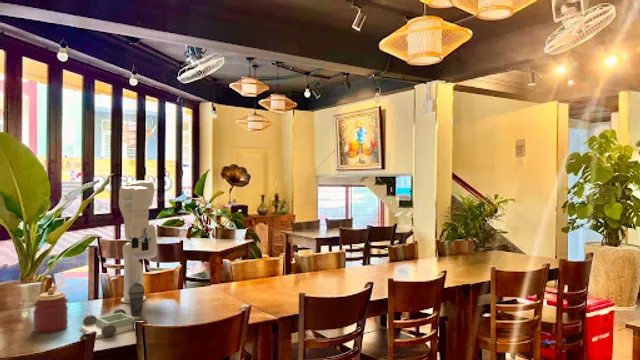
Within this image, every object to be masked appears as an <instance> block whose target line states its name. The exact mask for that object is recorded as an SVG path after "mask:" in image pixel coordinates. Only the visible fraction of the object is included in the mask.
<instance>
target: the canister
mask: <svg viewBox="0 0 640 360" xmlns="http://www.w3.org/2000/svg"><path fill="white" fill-rule="evenodd" d="M66 296H67V295H66V293H63V292H62V291H55V289H54V288H52V287H51V288H49V289H48V290H47V292H43V293H40V294H39V295H37V296H36V297H35V302H33V303H32V305H33V306H34V310H33V311H32V313H33V325H32V329H33V333H36V334H50V333H51V334H52V333H57V332H61V331H63V330H66V328H67V327H68V309H69V307H68V304H67V303H68V301H69V299H68V298H66Z"/></svg>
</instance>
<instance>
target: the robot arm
mask: <svg viewBox="0 0 640 360" xmlns="http://www.w3.org/2000/svg"><path fill="white" fill-rule="evenodd" d="M118 195H119V197H118V205H119V206H118V207H119V211H120V213H121V215H122V216H123V221H124V223H123V225H124V226H123V228H124V237H125V240H126V241H127V242H126V243H124V244H123V246H122V257H123V292H122V295H123V297H121V298H120V303H124V304H130V297H129V293H128V292H129V288H130V286H131V285H132V284H134V283H138V275H139V274H140V276H139V283H140V284H142V285H143V286H144V266H143V264H142V263H141V262H140V260H143V259H144V260H145V259H147V260H148V259H154V258H155V257H156V256H157V255H158V243H157V242H158V241H157V240H158V239H157V230H156V226H155V225H154V224H152V223H150V222H149V217H150V212H149V211H150V209H149V208H150V207H152V205H153V203H154V202H153V201H154V196H155V185H154V183H153V181H150V180H132V181H129V182H128V183H126V184H124V185H121V186H120V188H119V194H118ZM146 300H147V296H145V295H144V296H143V302H144V301H146Z"/></svg>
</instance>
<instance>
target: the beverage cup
mask: <svg viewBox="0 0 640 360" xmlns="http://www.w3.org/2000/svg"><path fill="white" fill-rule="evenodd" d="M139 276H140V274H139V275H138V283H134V284H132V285H131V286H130V288H129V292H128V293H129V297H130V303H129V305H130V306H129V309H130V315H131V316H133V317H141V316H142V313H143V305H144V304H143V303H144V301H143V296H145V288H144V287H145V286H144V284H143V285H142V284H140V283H139Z"/></svg>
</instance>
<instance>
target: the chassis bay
mask: <svg viewBox="0 0 640 360" xmlns="http://www.w3.org/2000/svg"><path fill="white" fill-rule="evenodd" d="M135 321H146V319H145V318H143V317H141V316H139V317H133V316H131V314H130V315H128V314H127V312H126V311H125V310H124V309H122V308H116V309H115V310H114V311H113V313H112V314H109V315H104V316H99V317H96V316H95V315H93V314H89V315H86V316H85V317H84V318H83V321H82V323H83V325H81V326H80V331H81V332H83V333H85V334H87V333H86V332H92V331H96V332H97V337H96V338H98V339H101V337H102V338H109V337H110V338H112V337H114V336H115V335H117V334H121V333H125V332H129V331H133V330H135V329H134V322H135ZM128 330H129V331H128Z"/></svg>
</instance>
